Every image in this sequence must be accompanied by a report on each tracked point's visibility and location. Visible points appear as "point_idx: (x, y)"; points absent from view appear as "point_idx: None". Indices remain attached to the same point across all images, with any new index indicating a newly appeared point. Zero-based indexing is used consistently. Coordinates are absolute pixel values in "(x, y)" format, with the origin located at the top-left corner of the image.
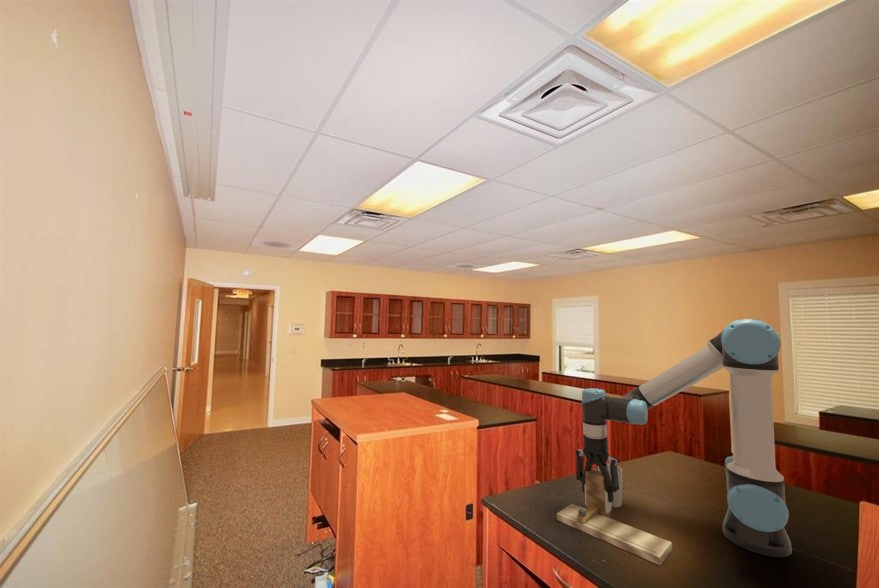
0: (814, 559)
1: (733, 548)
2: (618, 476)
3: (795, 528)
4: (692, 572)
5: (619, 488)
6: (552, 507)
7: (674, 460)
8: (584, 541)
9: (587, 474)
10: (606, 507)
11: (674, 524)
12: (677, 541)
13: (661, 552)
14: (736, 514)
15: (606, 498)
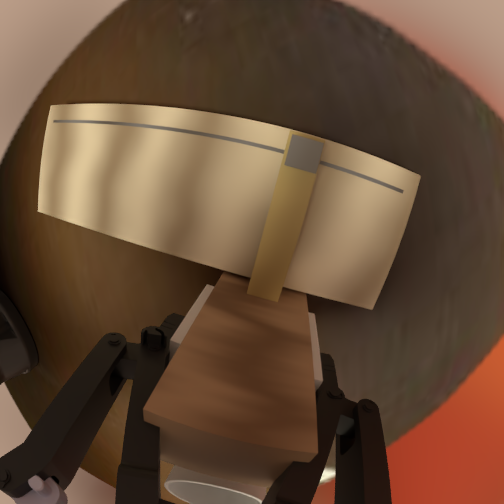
0: None
1: (11, 288)
2: (175, 467)
3: (16, 378)
4: (26, 138)
5: None
6: (434, 271)
7: None
8: (269, 67)
9: (297, 434)
10: (204, 297)
11: (82, 343)
12: (54, 261)
13: (47, 135)
14: None
15: (187, 319)
